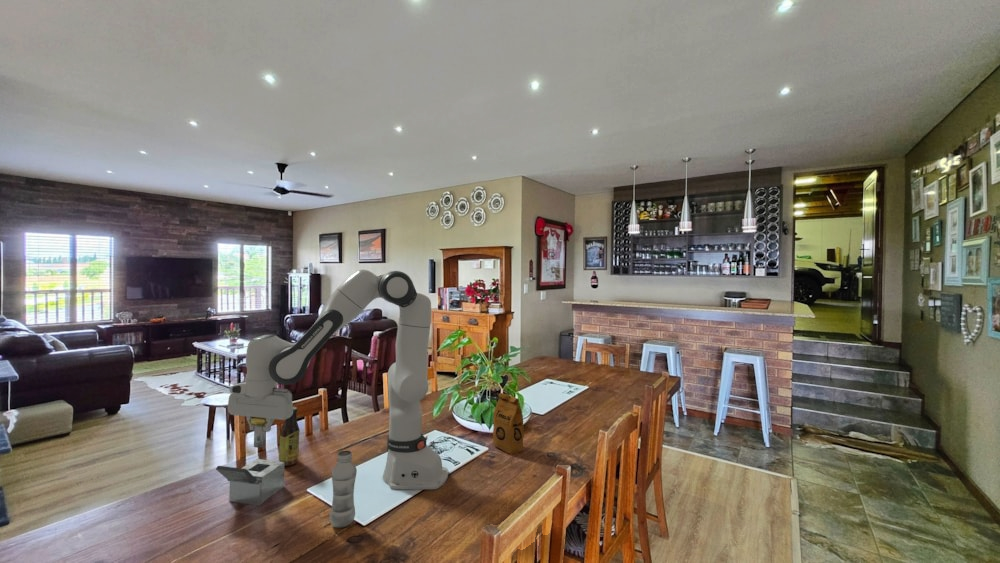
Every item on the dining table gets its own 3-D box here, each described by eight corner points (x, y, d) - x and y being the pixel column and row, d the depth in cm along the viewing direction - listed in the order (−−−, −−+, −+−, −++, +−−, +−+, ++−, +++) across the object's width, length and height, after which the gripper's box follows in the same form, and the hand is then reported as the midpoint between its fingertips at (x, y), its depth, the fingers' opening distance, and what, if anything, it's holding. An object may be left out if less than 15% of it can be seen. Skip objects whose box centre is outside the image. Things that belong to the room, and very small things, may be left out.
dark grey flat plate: (257, 485, 121) (259, 481, 121) (244, 472, 115) (246, 468, 116) (228, 481, 122) (231, 477, 123) (214, 469, 117) (217, 465, 118)
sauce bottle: (290, 468, 144) (291, 412, 144) (274, 465, 146) (276, 410, 145) (302, 459, 151) (304, 406, 151) (287, 457, 152) (289, 405, 152)
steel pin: (272, 442, 130) (273, 414, 130) (261, 449, 125) (262, 420, 125) (258, 441, 131) (259, 413, 130) (245, 447, 125) (246, 419, 125)
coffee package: (508, 457, 159) (510, 401, 159) (489, 446, 169) (491, 393, 168) (527, 451, 165) (529, 397, 165) (507, 440, 175) (509, 390, 175)
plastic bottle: (333, 517, 117) (335, 448, 116) (357, 517, 117) (359, 448, 117) (326, 531, 110) (328, 458, 110) (351, 531, 111) (353, 458, 110)
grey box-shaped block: (283, 486, 132) (284, 462, 132) (259, 505, 121) (259, 478, 121) (256, 483, 134) (256, 458, 133) (229, 501, 123) (229, 475, 123)
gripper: (298, 386, 129) (296, 429, 129) (240, 381, 132) (239, 424, 132) (285, 392, 123) (283, 437, 123) (224, 386, 126) (223, 431, 126)
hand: (260, 430), depth 128 cm, fingers closed on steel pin, 3 cm apart
